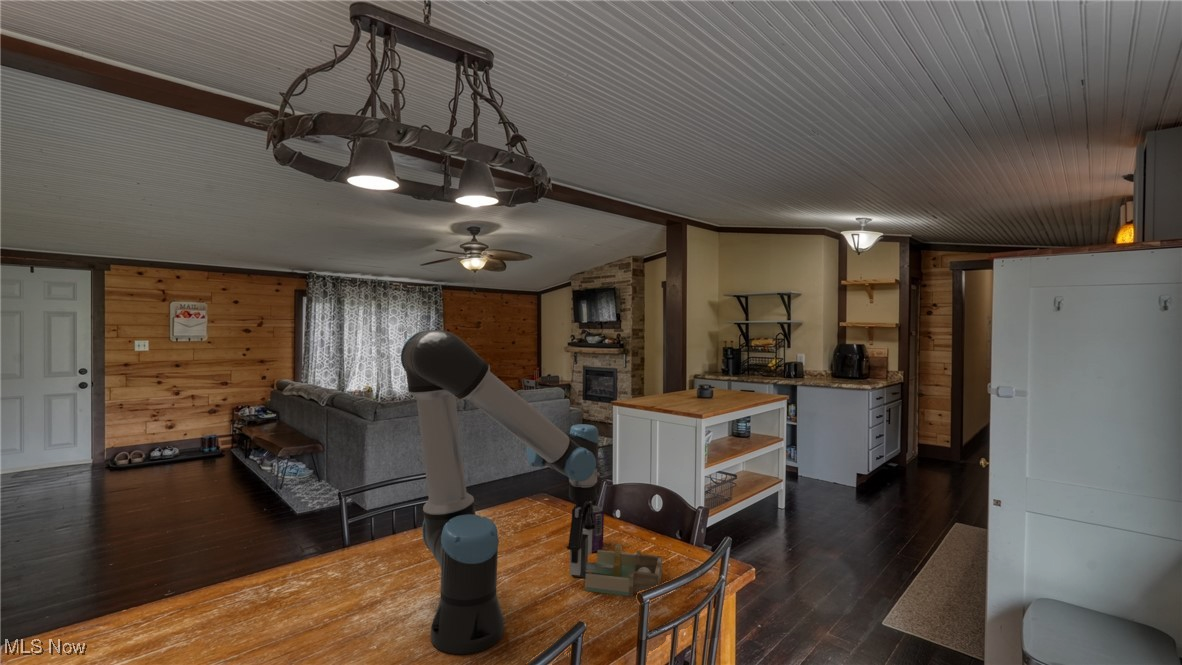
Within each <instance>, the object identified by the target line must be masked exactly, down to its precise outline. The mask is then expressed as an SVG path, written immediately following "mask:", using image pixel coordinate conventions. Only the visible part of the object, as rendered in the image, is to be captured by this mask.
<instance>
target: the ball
mask: <svg viewBox="0 0 1182 665" xmlns="http://www.w3.org/2000/svg"><path fill="white" fill-rule="evenodd" d="M637 572H645V573H651V571H650V570H649V569H648V568H646V567H641V568H640V569H639V570H638V571H637Z"/></svg>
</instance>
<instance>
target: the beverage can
mask: <svg viewBox="0 0 1182 665" xmlns="http://www.w3.org/2000/svg"><path fill="white" fill-rule="evenodd" d="M592 505H593V504H592ZM593 516H594V524H593V525H595V529H591V530H592V553H596V552H597V551H598V550H603V548H604V531H605V530H604V525H605V524H604V523H605V522H604V520H605V514H604V512H603V507H601V506H600V505H593ZM583 529H585V528H583Z"/></svg>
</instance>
